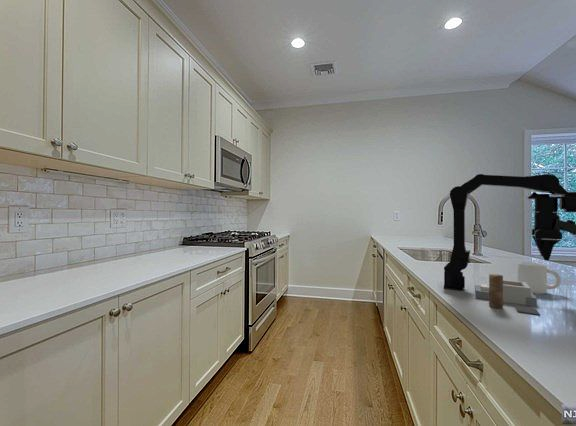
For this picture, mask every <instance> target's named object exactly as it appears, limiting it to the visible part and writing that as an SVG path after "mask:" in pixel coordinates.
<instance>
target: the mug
mask: <svg viewBox="0 0 576 426" xmlns="http://www.w3.org/2000/svg"><path fill="white" fill-rule="evenodd" d="M548 274H551V275H553V276H554V278H555V283H553V284H551V285H549V284H548ZM517 281H519V282H526V283H527V285H528V286H529V287H530V288H531V292H532V293H533V294H534V295H536V294H538V295H544V294H546V293H547V292H548V291H547V290H553V289H557V288H558V287H559V286H560V285H561V282H562V278H561V276H560V274H559V273H558V272H557V271H556V270H554V269H551V268H548V266H547V264H545V263H539V262H532V261H531V262H530V261H519V262H517Z"/></svg>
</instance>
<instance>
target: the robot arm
mask: <svg viewBox="0 0 576 426" xmlns="http://www.w3.org/2000/svg"><path fill="white" fill-rule="evenodd" d="M482 186H492V187H506V188H507V187H508V188H509V187H510V188H521V189H526V190H530V191H533V192H532V193H531V194H530V195H529V196H527V198H526V199H528V200H534V215H533V219H534V220H533V222H534V223H533V225H534V226H533V228H532V229H531V235H532V236H531V238H532V239H533V241H534V243H535V245H536V247H537V249H538V251H539V254H540V256H541V257H543V260H544V261H550V257H551V255H552V251H553V249H554V246H555V245H556V244H559V243H560V242H561V241H562V240H563V233H562V232H561V231H564V232H567V233H570V234H571V235H575V236H576V221H574V220H570V219H568V220H566V221H564V220H561V217H560V216H559V214H558V211H559V210H558V207H559V209H560V210H563V212H564V213H576V191H570V192H569V191H567V189H565V188H564V187H563V186H562V185H561V184H560V179H559V178H558V177H557V175H554V174H549V173H548V174H547V173H546V174H535V175H528V176H527V175H526V176H514V175H496V174H495V175H494V174H493V175H492V174H483V173H480V174H479V173H478V174H476V175H475V176H474V177H472V178H471V179H469V180H467V182H465V183H463V184H461V185H460V186H459V185H457V186H455V187H453V188H451V190H450V191H449V198H450V202H451V203H450V204H451V207H452V210H453V245H452V250H451V256H450V260H449V262H447V263H446V265H445V266H444V267H443V270H444V271H443V273H444V274H443V275H444V276H443V278H444V279H443V280H444V281H443V282H444V283H443V288H444V289H450V290H457V291H464V289H465V288H466V287H465V285H466V284H465V283H466V282H465V279H466V278H465V275H464V272H463V270H465V269H467V267H468V264H470V262H471V257H470V255H471V250H467V248H466V226H465V225H466V218H465V217H466V215H465V214H466V207H467V202H468V198H469V195H470V194H471V193H473V192H474V191H475V190H477V189H478V188H480V187H482ZM537 192H538V193H537ZM550 194H551V195H552V196H550ZM558 199H559V201H558ZM558 203H559V204H558Z"/></svg>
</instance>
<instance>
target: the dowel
mask: <svg viewBox="0 0 576 426" xmlns="http://www.w3.org/2000/svg"><path fill="white" fill-rule="evenodd" d="M503 280H504V276H503V275H502V274H497V273H489V274H488V284H489V300H488V306H489V307H490V308H492V309H496V310H501V309H504V302H503Z"/></svg>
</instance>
